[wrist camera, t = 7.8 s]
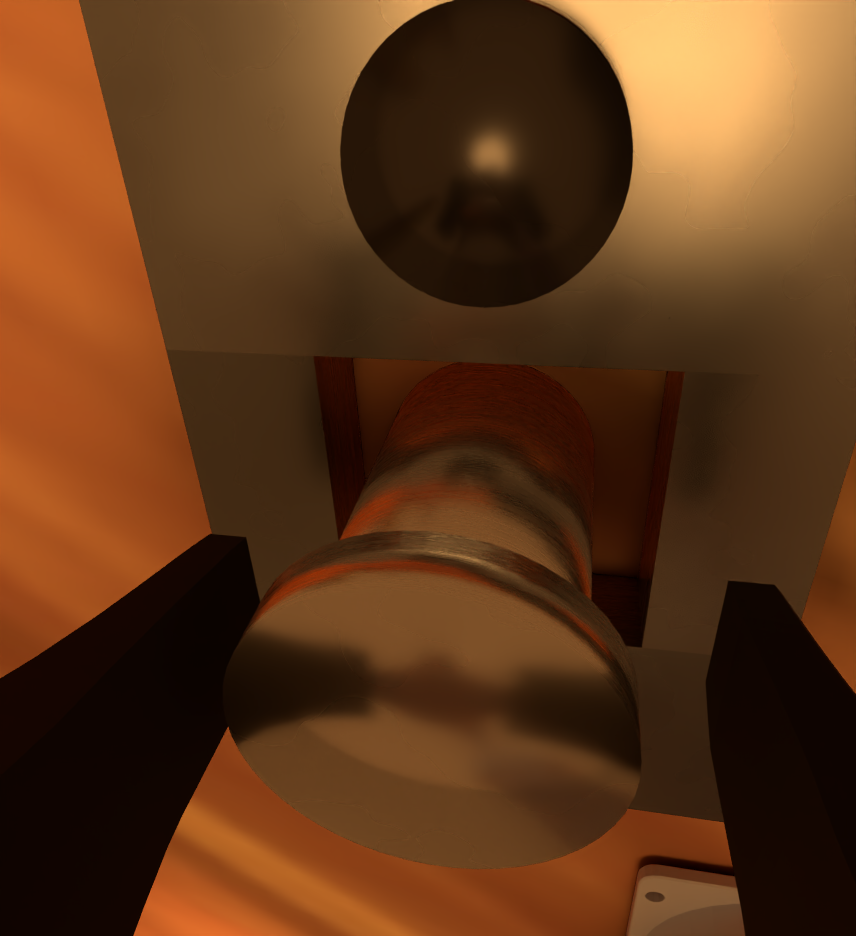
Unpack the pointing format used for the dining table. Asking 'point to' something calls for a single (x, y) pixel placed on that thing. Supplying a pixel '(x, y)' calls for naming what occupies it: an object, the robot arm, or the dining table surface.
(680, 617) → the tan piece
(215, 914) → the dining table surface
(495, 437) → the pin
